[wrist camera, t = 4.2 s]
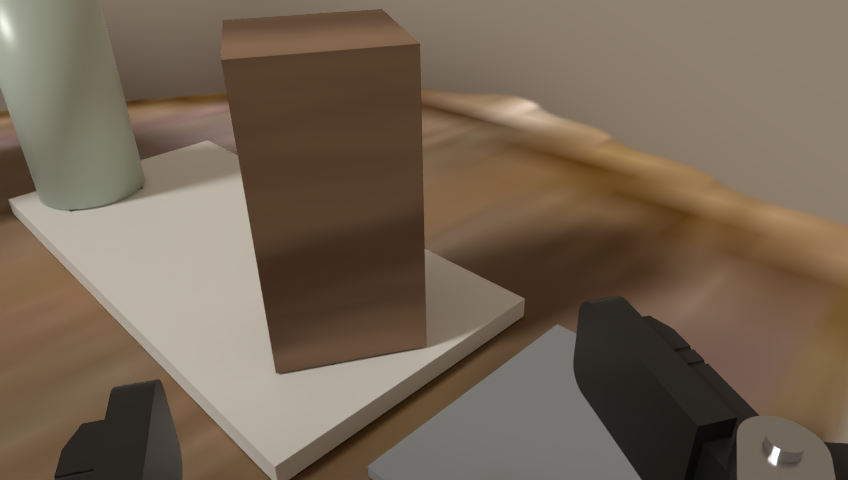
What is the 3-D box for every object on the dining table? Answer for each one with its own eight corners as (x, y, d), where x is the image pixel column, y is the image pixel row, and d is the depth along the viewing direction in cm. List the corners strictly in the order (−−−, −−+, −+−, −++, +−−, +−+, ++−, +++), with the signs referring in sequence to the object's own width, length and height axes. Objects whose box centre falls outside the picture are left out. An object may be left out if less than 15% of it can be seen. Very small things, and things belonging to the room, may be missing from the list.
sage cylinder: (59, 219, 30) (-17, -6, 25) (25, 188, 34) (-49, -18, 29) (161, 186, 33) (111, -22, 28) (121, 160, 37) (70, -31, 32)
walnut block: (426, 346, 22) (419, 43, 17) (275, 373, 21) (221, 59, 16) (394, 269, 26) (381, 9, 21) (268, 289, 25) (222, 20, 20)
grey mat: (666, 737, 13) (669, 726, 13) (368, 475, 18) (367, 466, 18) (823, 472, 18) (827, 462, 18) (556, 333, 24) (557, 324, 24)
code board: (278, 486, 18) (274, 464, 18) (13, 213, 33) (7, 197, 33) (523, 316, 25) (525, 296, 24) (209, 152, 40) (207, 138, 39)
